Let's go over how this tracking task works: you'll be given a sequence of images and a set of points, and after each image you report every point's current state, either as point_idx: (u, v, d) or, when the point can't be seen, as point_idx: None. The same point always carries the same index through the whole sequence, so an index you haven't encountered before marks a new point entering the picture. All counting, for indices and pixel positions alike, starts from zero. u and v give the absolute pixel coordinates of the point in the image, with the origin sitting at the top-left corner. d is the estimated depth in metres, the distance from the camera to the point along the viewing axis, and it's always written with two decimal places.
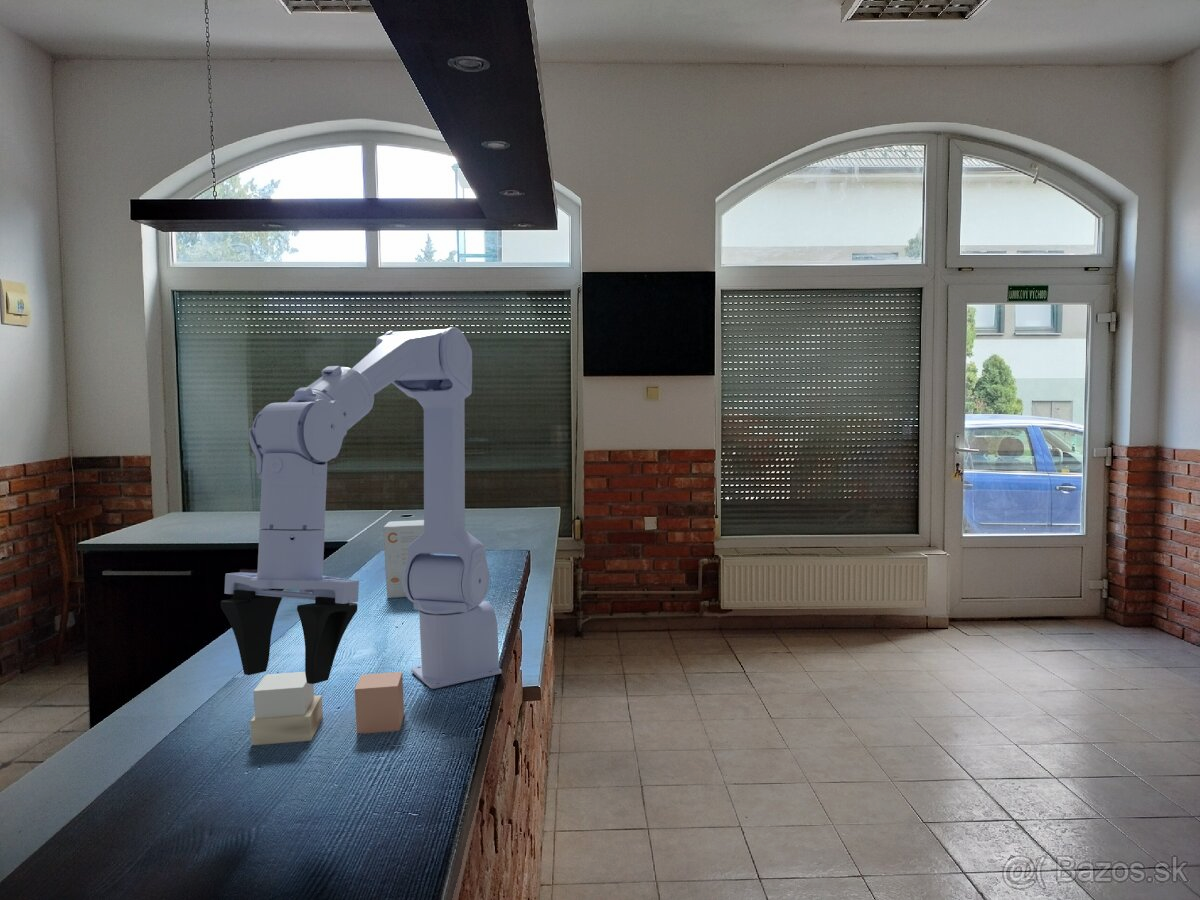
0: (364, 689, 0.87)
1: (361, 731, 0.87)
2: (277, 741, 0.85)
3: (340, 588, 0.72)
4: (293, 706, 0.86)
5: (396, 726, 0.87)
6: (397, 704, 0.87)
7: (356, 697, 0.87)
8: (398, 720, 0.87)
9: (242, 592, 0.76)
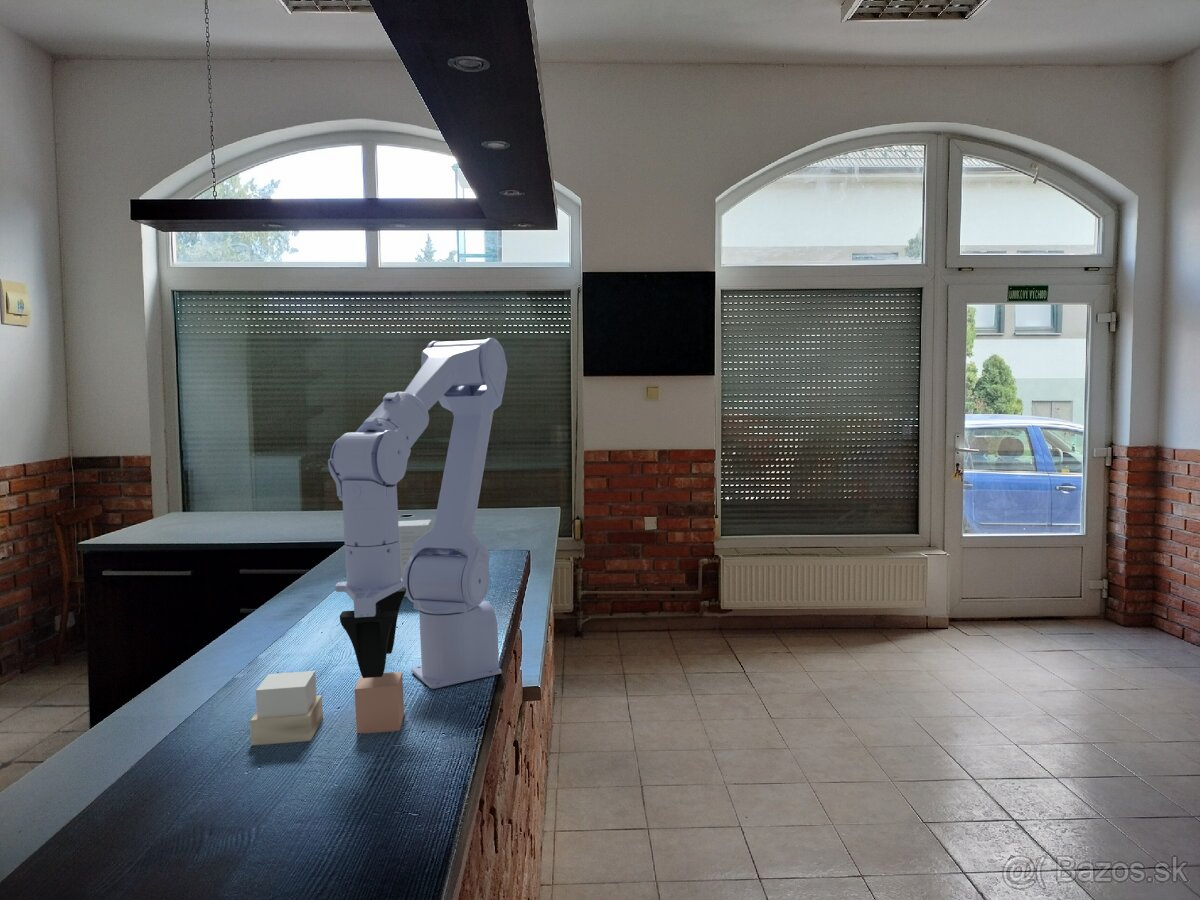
0: (364, 689, 0.87)
1: (361, 731, 0.87)
2: (277, 741, 0.85)
3: None
4: (295, 705, 0.86)
5: (396, 726, 0.87)
6: (397, 704, 0.87)
7: (356, 697, 0.87)
8: (398, 720, 0.87)
9: None
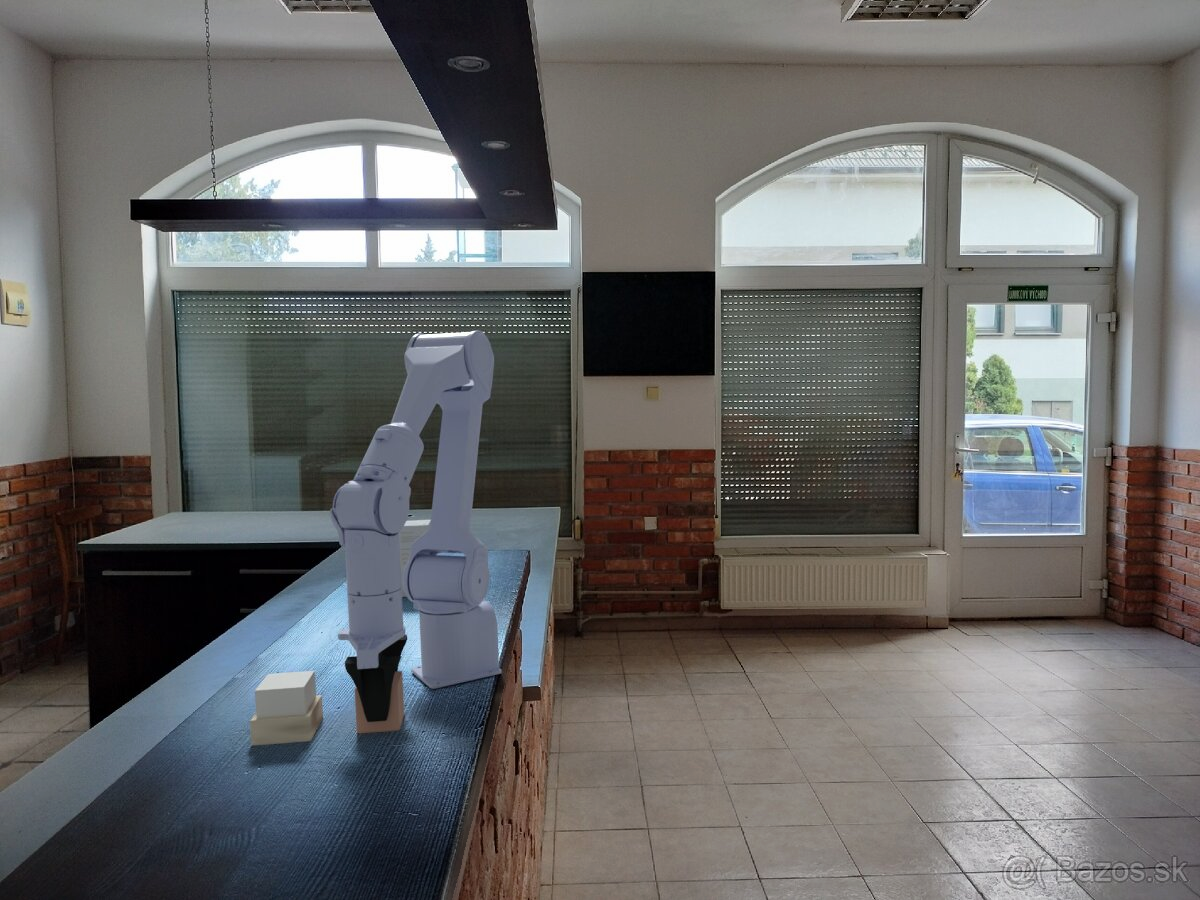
0: None
1: (361, 730, 0.87)
2: (277, 741, 0.85)
3: (357, 655, 0.82)
4: (294, 706, 0.86)
5: (396, 725, 0.87)
6: (397, 703, 0.87)
7: (356, 696, 0.87)
8: (398, 719, 0.87)
9: None
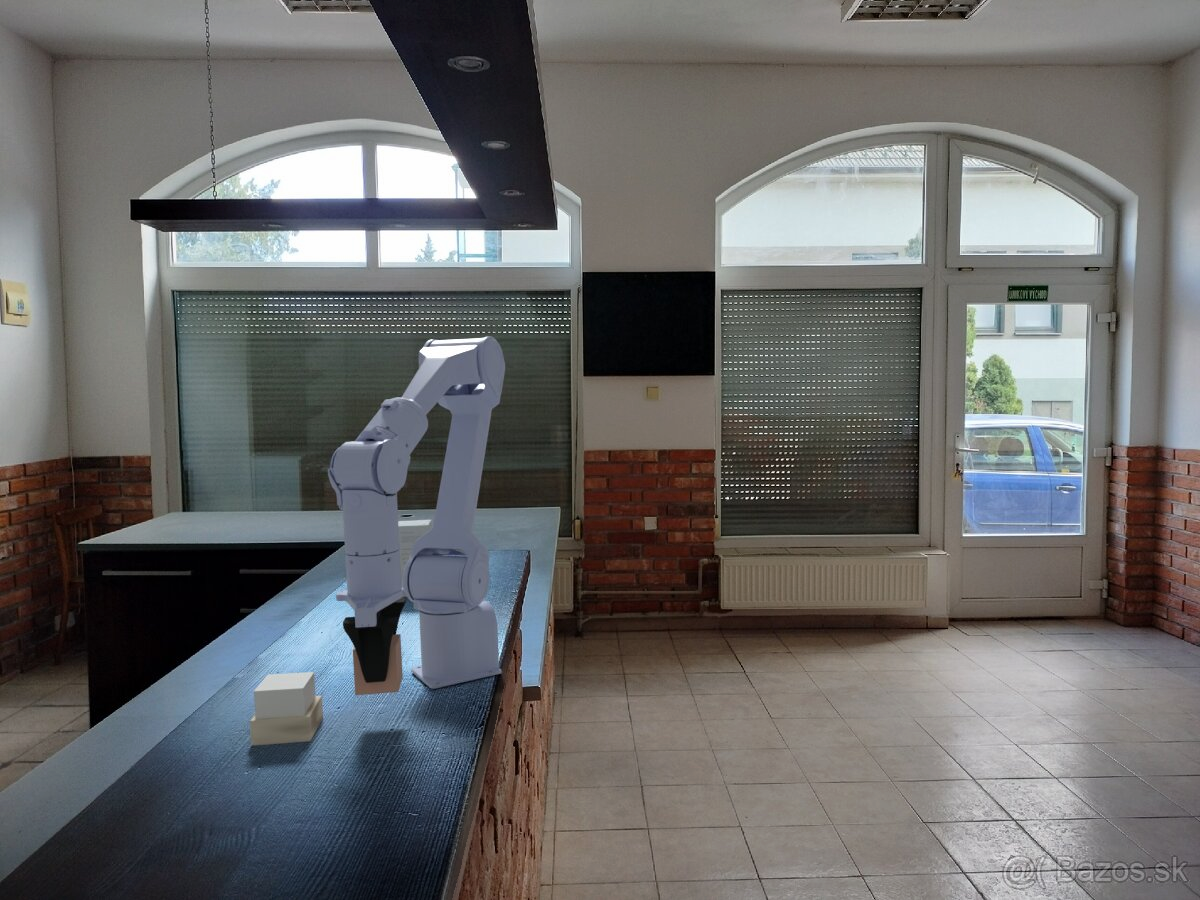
0: None
1: (359, 692, 0.87)
2: (277, 741, 0.85)
3: (355, 613, 0.81)
4: (293, 707, 0.85)
5: (394, 687, 0.87)
6: (395, 665, 0.87)
7: (354, 658, 0.86)
8: (396, 681, 0.87)
9: None
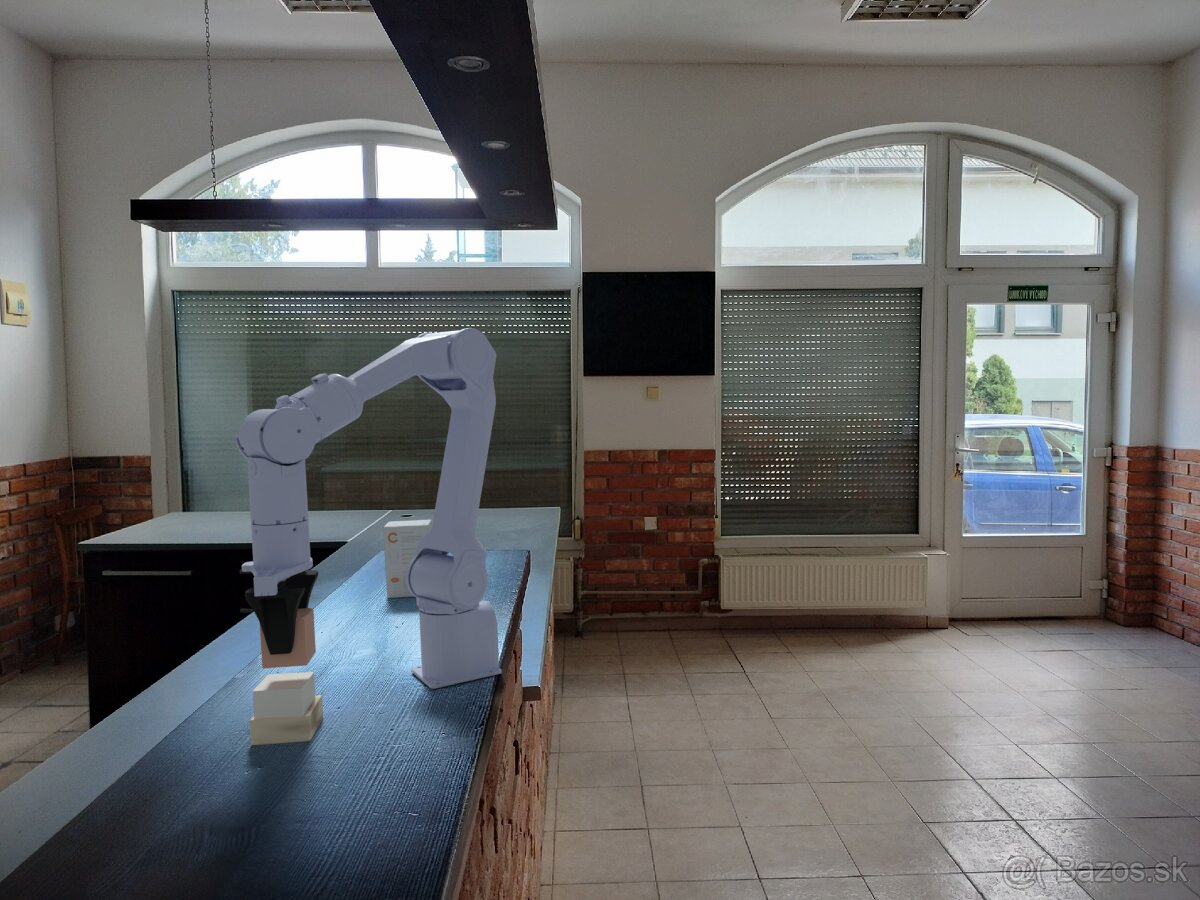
0: None
1: (267, 665, 0.85)
2: (276, 741, 0.85)
3: None
4: (291, 707, 0.85)
5: (303, 660, 0.86)
6: (304, 638, 0.85)
7: (261, 630, 0.85)
8: (305, 654, 0.86)
9: None
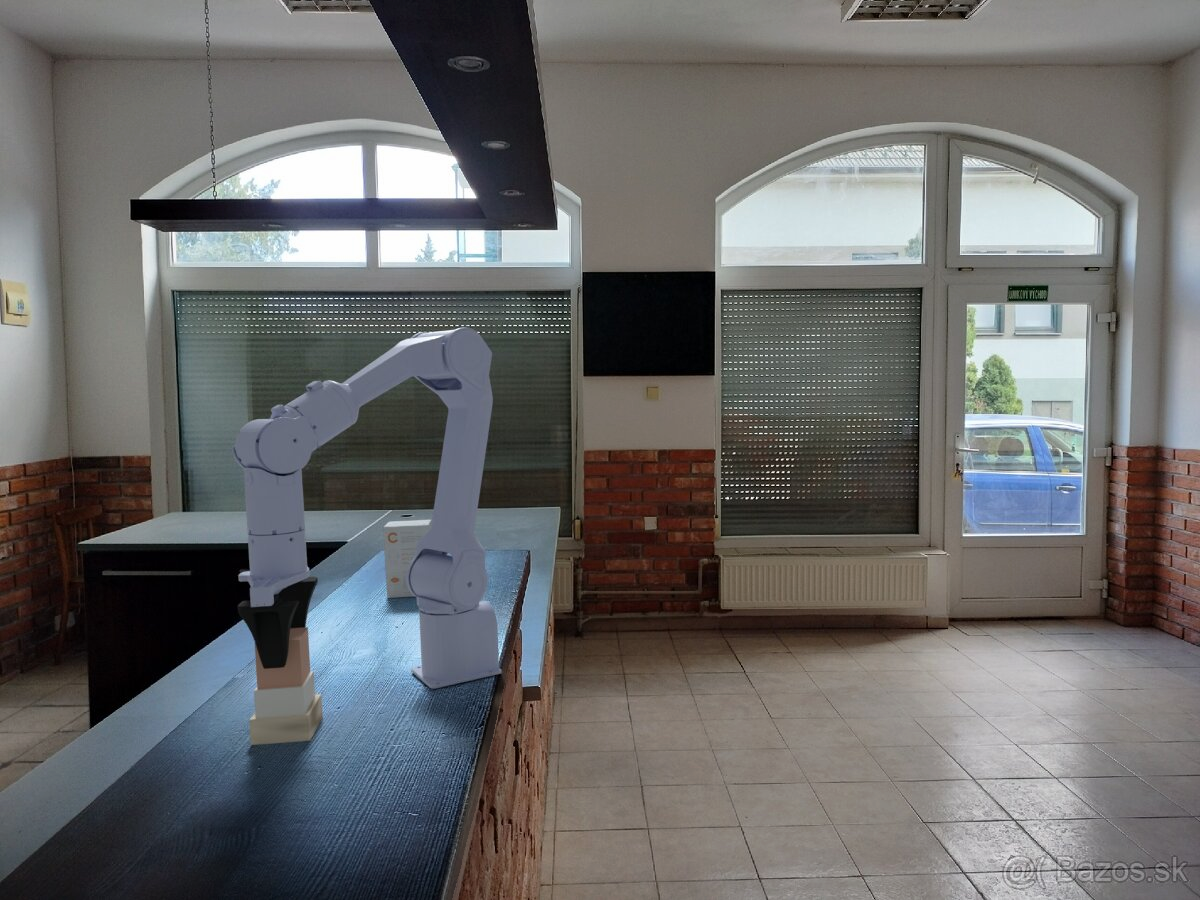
0: None
1: (262, 686, 0.85)
2: (276, 740, 0.85)
3: None
4: (293, 706, 0.85)
5: (298, 680, 0.86)
6: (299, 658, 0.86)
7: (256, 651, 0.85)
8: (300, 674, 0.86)
9: None
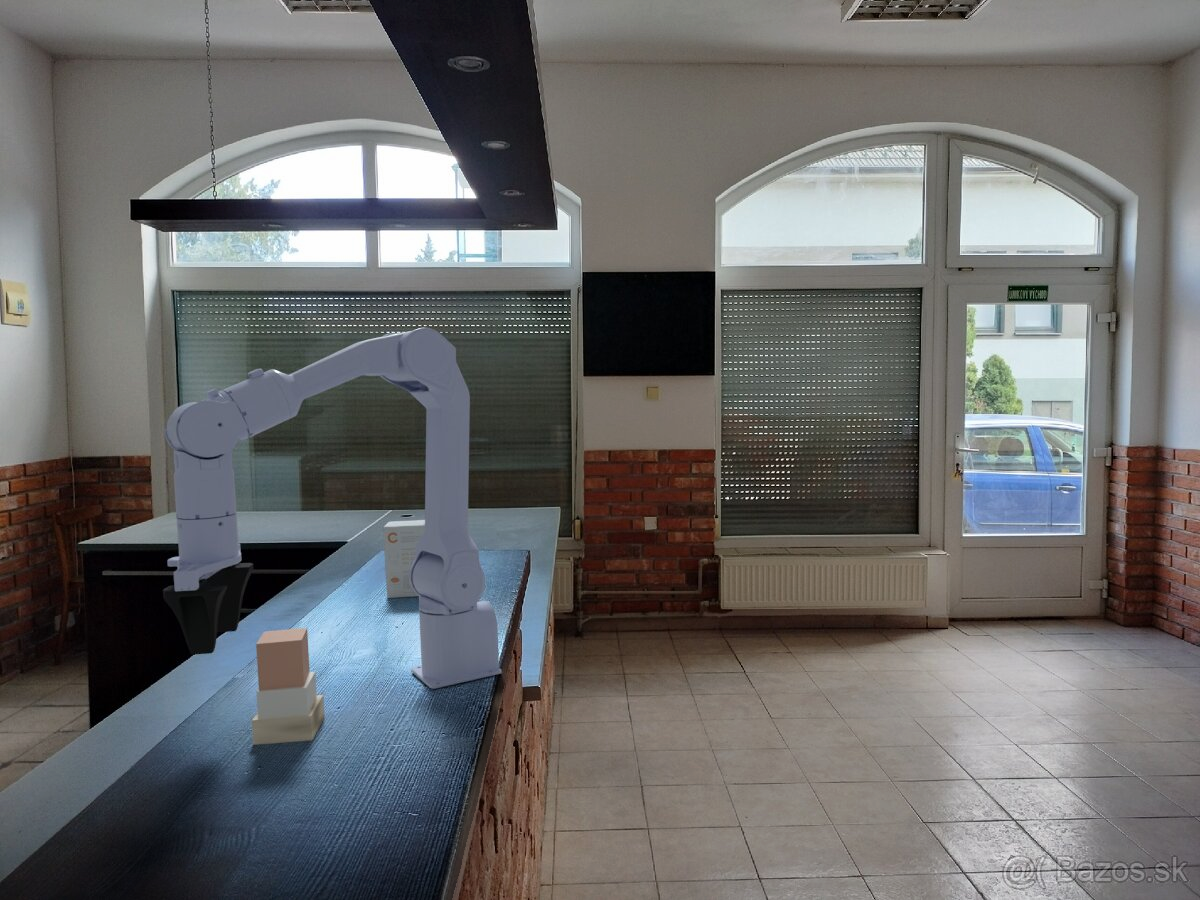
0: (267, 643, 0.85)
1: (263, 687, 0.85)
2: (278, 741, 0.85)
3: None
4: (296, 707, 0.85)
5: (300, 681, 0.86)
6: (301, 658, 0.86)
7: (258, 652, 0.85)
8: (302, 675, 0.86)
9: None
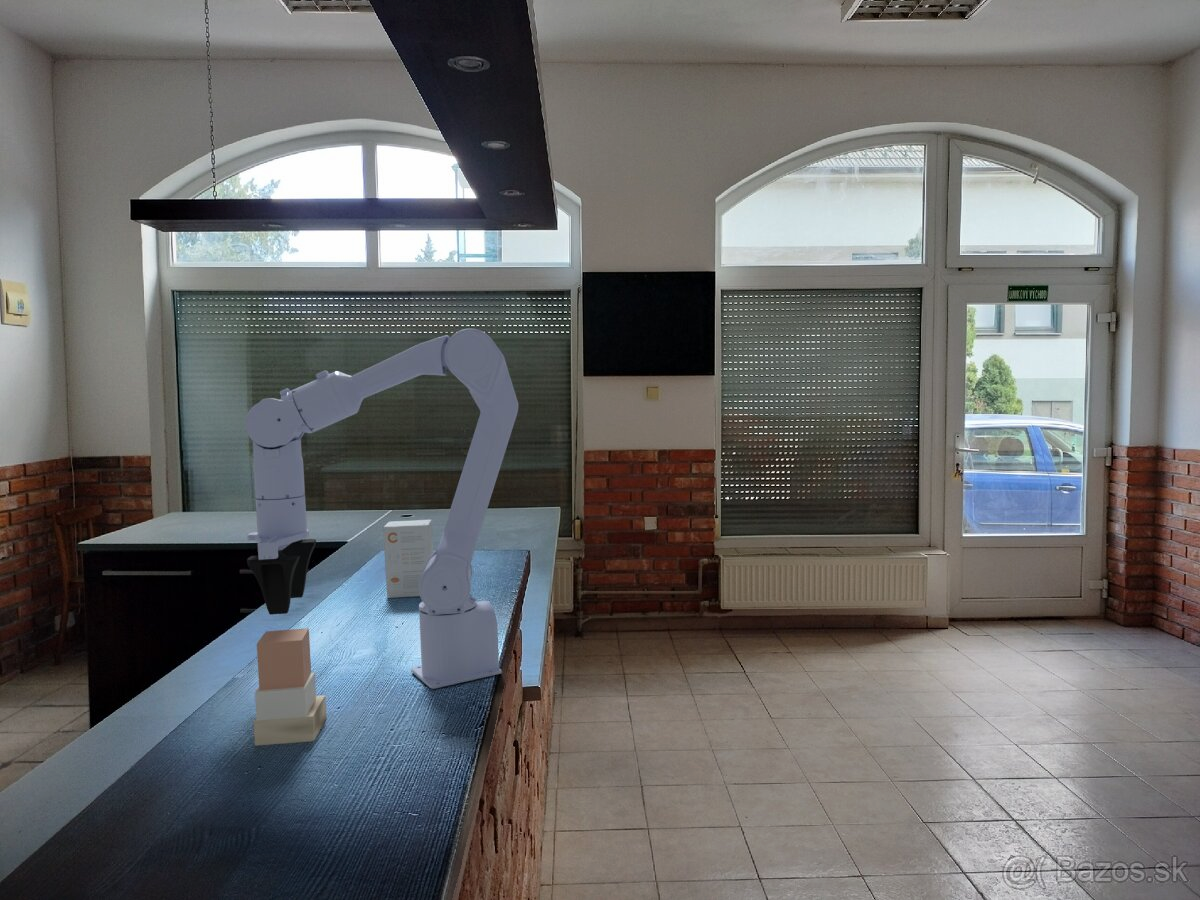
0: (267, 643, 0.85)
1: (264, 687, 0.85)
2: (280, 741, 0.85)
3: None
4: (294, 708, 0.85)
5: (300, 681, 0.86)
6: (301, 659, 0.86)
7: (258, 652, 0.85)
8: (302, 675, 0.86)
9: None
